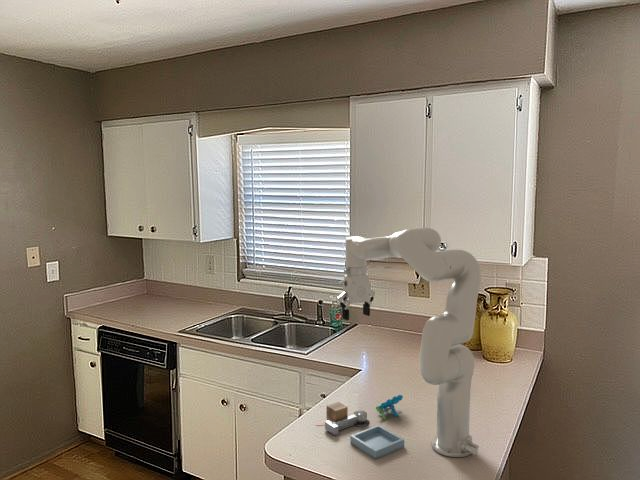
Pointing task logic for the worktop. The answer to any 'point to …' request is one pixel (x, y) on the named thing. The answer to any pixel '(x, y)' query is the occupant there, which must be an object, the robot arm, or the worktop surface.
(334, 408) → the block
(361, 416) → the lever
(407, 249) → the robot arm
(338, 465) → the worktop surface
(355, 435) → the tray
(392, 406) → the gear
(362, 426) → the pivot base
